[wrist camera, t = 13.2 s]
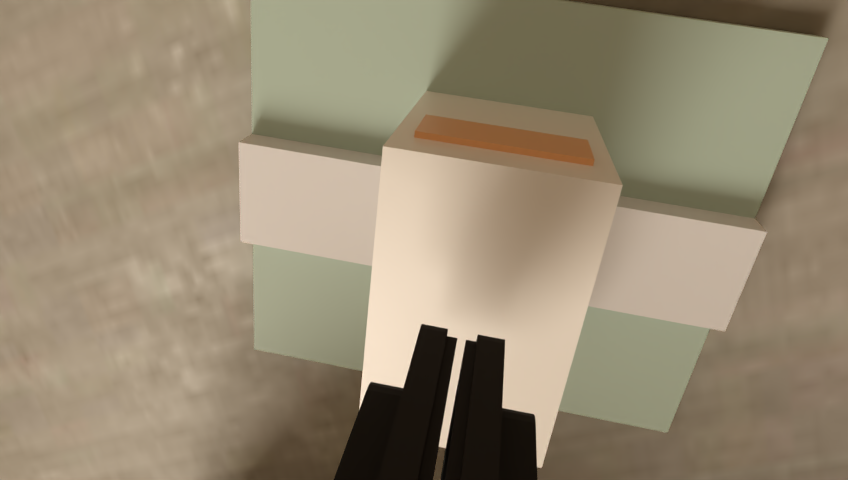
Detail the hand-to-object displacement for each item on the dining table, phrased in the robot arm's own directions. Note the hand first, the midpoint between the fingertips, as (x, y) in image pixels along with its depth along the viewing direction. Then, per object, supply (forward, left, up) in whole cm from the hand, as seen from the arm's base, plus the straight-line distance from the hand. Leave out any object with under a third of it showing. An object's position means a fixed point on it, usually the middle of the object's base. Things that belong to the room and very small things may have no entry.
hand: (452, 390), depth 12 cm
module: (0, 0, -9) cm, 9 cm away
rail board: (0, 0, -9) cm, 9 cm away
